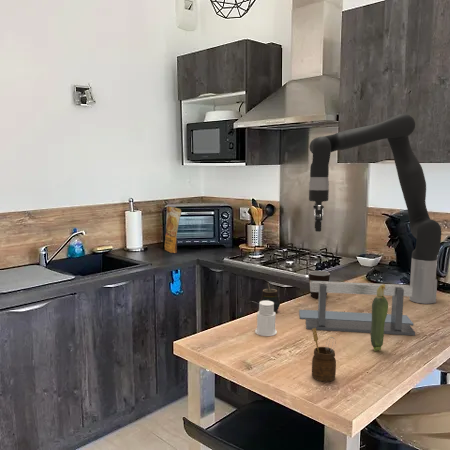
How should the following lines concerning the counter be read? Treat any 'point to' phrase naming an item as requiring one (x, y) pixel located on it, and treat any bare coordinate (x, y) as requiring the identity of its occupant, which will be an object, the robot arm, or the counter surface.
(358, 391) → the counter surface
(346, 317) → the blue-gray flat board
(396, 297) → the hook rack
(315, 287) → the steel rail
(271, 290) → the mate gourd
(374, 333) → the vegetable
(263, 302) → the downlight
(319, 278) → the coffee mug
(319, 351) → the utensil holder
